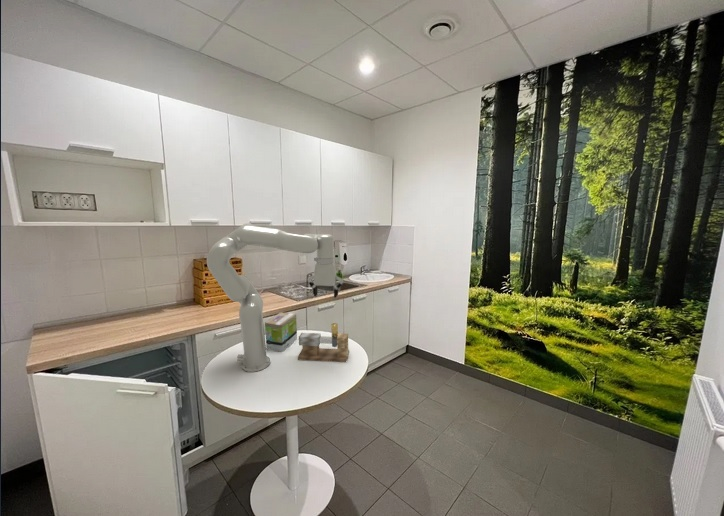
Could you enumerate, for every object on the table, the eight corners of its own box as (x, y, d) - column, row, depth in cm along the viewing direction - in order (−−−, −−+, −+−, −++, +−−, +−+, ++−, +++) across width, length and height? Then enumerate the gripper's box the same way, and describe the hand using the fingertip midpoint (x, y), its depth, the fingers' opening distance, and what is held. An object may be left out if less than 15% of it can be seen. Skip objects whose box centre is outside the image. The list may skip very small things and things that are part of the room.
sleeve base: (297, 359, 142) (296, 339, 140) (303, 350, 151) (302, 330, 148) (346, 362, 139) (345, 341, 137) (349, 352, 148) (348, 332, 146)
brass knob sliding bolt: (312, 345, 142) (311, 325, 140) (315, 341, 146) (314, 321, 144) (342, 347, 140) (341, 326, 138) (344, 342, 145) (343, 322, 143)
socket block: (337, 356, 141) (336, 338, 139) (339, 351, 146) (338, 333, 144) (346, 357, 141) (346, 338, 139) (348, 351, 146) (348, 333, 144)
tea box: (283, 352, 149) (281, 324, 146) (266, 349, 152) (263, 322, 149) (297, 338, 163) (296, 313, 160) (281, 336, 166) (279, 311, 163)
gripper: (304, 261, 135) (305, 297, 138) (341, 263, 133) (341, 299, 136) (309, 258, 142) (310, 292, 146) (345, 260, 140) (345, 294, 143)
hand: (325, 296), depth 141 cm, fingers open, 9 cm apart
